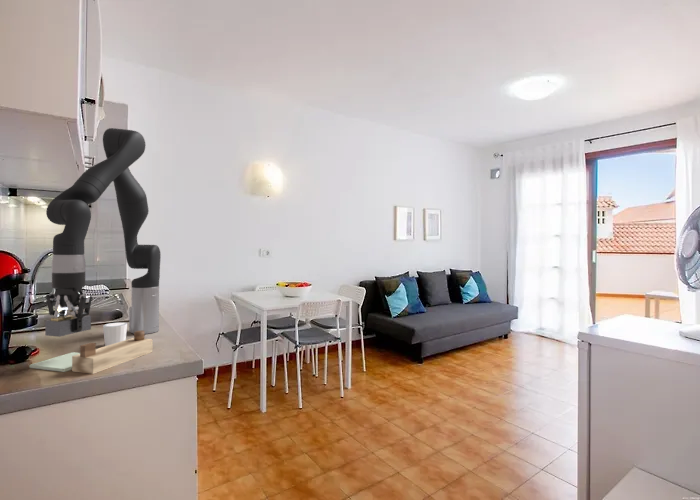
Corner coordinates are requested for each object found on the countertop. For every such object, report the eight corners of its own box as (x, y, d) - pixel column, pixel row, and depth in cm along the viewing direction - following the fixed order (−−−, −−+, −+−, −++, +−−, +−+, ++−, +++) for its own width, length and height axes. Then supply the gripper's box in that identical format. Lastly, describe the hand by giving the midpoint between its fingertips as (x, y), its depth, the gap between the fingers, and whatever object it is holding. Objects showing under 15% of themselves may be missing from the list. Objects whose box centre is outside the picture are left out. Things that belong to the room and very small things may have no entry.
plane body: (72, 371, 97) (72, 344, 97) (134, 350, 116) (134, 328, 116) (93, 373, 95) (93, 347, 95) (152, 352, 115) (152, 329, 115)
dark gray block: (45, 335, 100) (45, 318, 100) (77, 328, 108) (77, 312, 108) (59, 336, 98) (59, 319, 98) (90, 329, 107) (90, 313, 107)
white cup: (120, 341, 127) (120, 321, 126) (131, 344, 123) (131, 323, 123) (98, 346, 121) (98, 324, 121) (109, 349, 117) (109, 327, 117)
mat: (29, 367, 99) (29, 364, 99) (72, 354, 111) (72, 352, 111) (64, 372, 96) (64, 368, 96) (104, 358, 108) (104, 355, 108)
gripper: (101, 270, 105) (101, 329, 105) (62, 269, 109) (62, 326, 109) (76, 272, 98) (76, 336, 98) (35, 271, 101) (35, 332, 102)
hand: (69, 330), depth 103 cm, fingers closed on dark gray block, 5 cm apart
